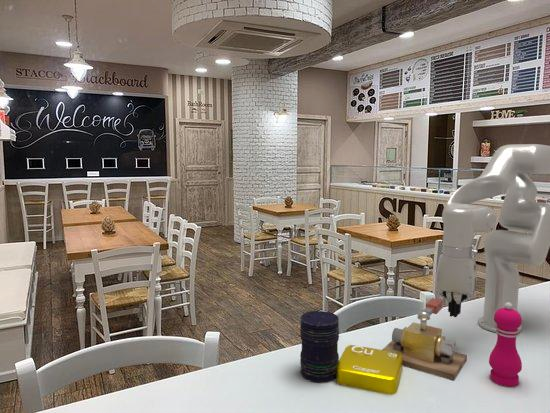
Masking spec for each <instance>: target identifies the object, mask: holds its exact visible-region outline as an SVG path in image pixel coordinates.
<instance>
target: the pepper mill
mask: <svg viewBox="0 0 550 413" xmlns="http://www.w3.org/2000/svg"><path fill="white" fill-rule="evenodd" d="M504 306H505V308H500V309H498V310H497V311H496V312H495V315H494V321H495V323H496V324H497V326H496V332H495V333H496V334H497V337H496V338H497V339H496V344H495V345H494V347H493V349H492V351H491V352H490V354H489V358H488V364H489V366H490V368H491V369H490V374H489V378H490V379H491V381H492V382H494V383H495V384H497V385H500V386H504V387H515V386H518V385H519V381H520V380H519V379H520V375H519V374H520V373H521V371H522V368H523V364H522V360H521V357H520V354H519V352H518V349H517V337H519V335H520V334H519V333H520V332H519V330H518V328H519V327H520V326H522V323H523V320H522V316H521V314H520V312H518V310H517V311H516V310H514V309H512V308H513V305H512V304H511V303H509V302H507V303H505V305H504ZM518 332H519V333H518Z"/></svg>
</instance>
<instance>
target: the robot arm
mask: <svg viewBox="0 0 550 413" xmlns="http://www.w3.org/2000/svg"><path fill="white" fill-rule="evenodd" d="M529 174H545V175H550V145H546V144H537V143H527V144H525V143H524V144H523V143H522V144H521V143H520V144H513V143H512V144H506V145H504V144H503V145H502V146H500V147H498V148H497V149H495V152H494V153H493V155H492V156H491V158H490V160H489V161H488V162H487V165H486V166H485V168H484V170H483V171H482V173H481V174H480V176H477V177H476V178H473V179H472V180H470V181H468V182H467V183H465V184H463V185H462V186H460V187H458V188H457V189H456V190H455V191H454V192H453V193H451V196H450V197H449V199H448V200H447V202H446V203H445V206H444V207H443V209H442V214H441V218H442V222H443V229H442V230H443V231H442V233H443V234H442V253H441V254H440V255H439V257H438V263H437V268H436V274H435V290H434V292H436V293H437V294H440V295H442V296H443V297H444V298H445V299H446V302H448V306H447V308H448V309H447V312H448V313H449V317H453V318H457V317H458V315H460V314H461V310H462V303H463V301H466V300H475V299H476V297H477V293H476V290H477V284H478V282H477V281H478V280H477V276H478V275H477V263H476V258H475V257H474V255H475V256H478V252H479V251H478V249H475V248H474V246H473V241H474V240H473V238H474V237H473V236H474V233H486V232H487V234H486V236H485V237H484V241H483V247H484V248H483V249H484V254H485V256H484V257H485V284H484V285H485V286H484V287H485V288H484V303H483V308H484V309H483V316H481V317H479V318H478V320H477V322H478V325H479V327H481V328H483V329H484V330H486V331H489V332H494V333H496V326H497V324H496V323H495V321H494V315H495V312H496V311H497V310H498V309H500V308H505V306H504V305H505V303H507V302H509V303H511V304H512V305H513V308H512V309H514V310H516V311H517V312H518V307H519V306H518V303H519V287H520V273H519V270H518V268H517V266H516V264H520V265H527V266H531V267H537V266H541V265H542V264H543V263H544V262H545V261H546V258H547V256H548V253H549V250H550V203H547V202H540V201H536V197H537V195H538V188H537V186H536V183H535V182H534V181H533V180H532V178H531V177H530V176H529ZM505 193H506V194H505ZM503 194H505V196H504V198H503V199H504V200H503V202H502V204H501V208H500V211H499V215H498V222H499V225H500V226H501V227H503V228H505V230H504V229H495V230H492V229H493V228H494V227H495V225H496V224H497V223H496V222H497V215H496V212H495V211H494V209H492V208H491V207H489V206H487V205H486V206H485V205H480V204H479V205H478V204H473V203H476V202H478V201H483V200H486V199H491V198H495V197H497V196H501V195H503ZM506 229H508V230H506ZM513 230H514V231H513ZM527 232H528V233H527ZM515 263H516V264H515ZM454 293H455V294H456V300H455V294H454ZM522 329H523V326H522V325H521V326H520V327H519V328H518V330H519V332H518V334H519V333H520V332H522Z"/></svg>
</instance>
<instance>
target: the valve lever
mask: <svg viewBox="0 0 550 413" xmlns="http://www.w3.org/2000/svg"><path fill="white" fill-rule="evenodd" d="M443 305H444V300H443V299H439V298H435V297H434V298H433V297H432V298H431V299H430V300H428V301H427V302H426V304H425V308H423V309H418V310H417V319H418V320H427V321H429V320H430V319H431V315H432V314H433V315H434V314H435V315H437V314H439V312H440V311H441V310H442V309H443Z"/></svg>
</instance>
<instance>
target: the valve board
mask: <svg viewBox="0 0 550 413" xmlns="http://www.w3.org/2000/svg"><path fill="white" fill-rule="evenodd" d="M394 343H395V342H393V341H392V340H391V341H390V342H389V343H388V344H387V345H386V346H384V347H383V348H382V349H381V350H386V351H392V352H398V353H400V354H401V355H402V357H403V364H402V367H406V368H410V369H414V370H417V371H421V372H424V373H427V374H431V375H434V376H437V377H441V378H445V379H447V380H451V381H455V379H457V376H458V375H459V373H460V372H461V370H462V369H463V367H464V365H465V364H466V362H467V360H468V357H467V356H468V355H467V354H465V353H460V352H457V351H455V353H454V356H453V360H452V361H451V362H450V364H445V363H442V362H441V358H440V357H438V358H437V359H436V360H435V362H434V363H431V362H427V361H423V360H420V359H416V358H413V357H409V356H405V355H404V348H403V349H402V350H401V351H398V350H394Z"/></svg>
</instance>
